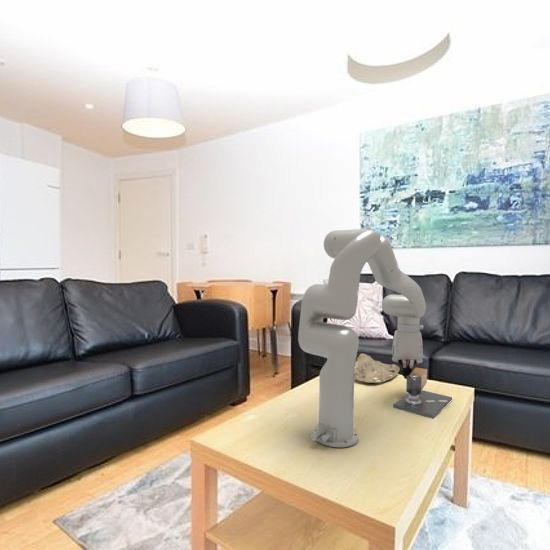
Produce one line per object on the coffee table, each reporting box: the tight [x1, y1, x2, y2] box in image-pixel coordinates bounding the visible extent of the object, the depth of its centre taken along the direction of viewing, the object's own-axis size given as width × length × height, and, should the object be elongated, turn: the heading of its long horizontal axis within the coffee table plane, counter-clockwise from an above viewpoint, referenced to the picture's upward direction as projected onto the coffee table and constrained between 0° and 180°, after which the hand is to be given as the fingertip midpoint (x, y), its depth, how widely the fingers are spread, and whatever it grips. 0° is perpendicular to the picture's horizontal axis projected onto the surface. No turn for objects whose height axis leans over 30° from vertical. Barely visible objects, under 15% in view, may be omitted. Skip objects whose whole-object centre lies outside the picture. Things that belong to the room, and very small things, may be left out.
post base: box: [392, 389, 453, 419], centre depth 132 cm, size 20×13×4 cm
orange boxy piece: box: [405, 367, 428, 395], centre depth 134 cm, size 15×5×6 cm, turn 148°
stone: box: [354, 353, 401, 384], centre depth 163 cm, size 30×10×15 cm
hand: (406, 377), depth 140 cm, fingers closed
